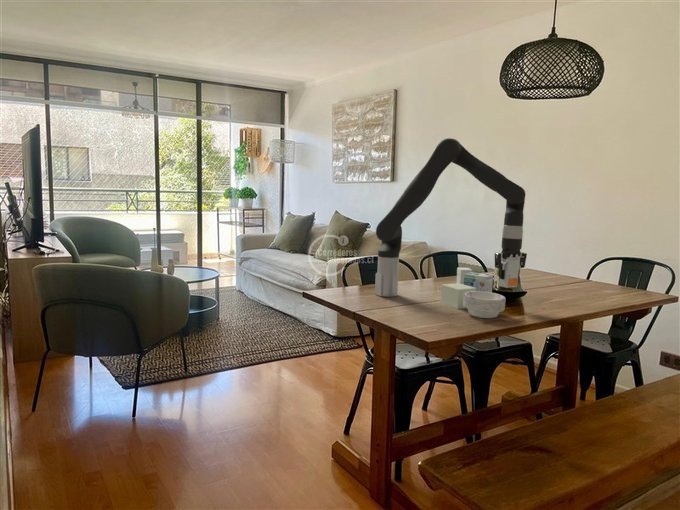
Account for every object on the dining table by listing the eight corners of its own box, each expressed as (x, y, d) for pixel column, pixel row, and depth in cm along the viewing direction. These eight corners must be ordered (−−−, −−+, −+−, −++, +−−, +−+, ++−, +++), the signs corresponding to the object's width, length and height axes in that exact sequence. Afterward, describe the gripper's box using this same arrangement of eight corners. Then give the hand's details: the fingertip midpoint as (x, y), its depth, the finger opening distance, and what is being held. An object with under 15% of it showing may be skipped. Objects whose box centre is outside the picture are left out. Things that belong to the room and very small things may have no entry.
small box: (471, 292, 228) (473, 270, 226) (459, 292, 228) (460, 269, 227) (467, 289, 236) (468, 267, 234) (456, 288, 236) (457, 267, 235)
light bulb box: (462, 297, 217) (463, 273, 215) (469, 295, 222) (471, 271, 220) (484, 301, 210) (486, 276, 208) (492, 299, 215) (493, 274, 213)
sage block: (457, 309, 195) (458, 289, 194) (440, 303, 205) (441, 284, 204) (475, 307, 199) (476, 288, 198) (457, 301, 209) (458, 283, 208)
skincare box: (506, 288, 193) (509, 257, 191) (498, 286, 197) (500, 256, 195) (517, 287, 196) (520, 257, 194) (509, 285, 199) (512, 255, 198)
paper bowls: (512, 320, 180) (513, 298, 179) (474, 321, 177) (475, 299, 176) (491, 310, 195) (492, 290, 194) (455, 311, 192) (456, 291, 190)
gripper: (503, 238, 187) (500, 281, 190) (533, 237, 192) (529, 279, 195) (491, 235, 194) (487, 277, 197) (520, 235, 199) (517, 276, 202)
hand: (508, 278), depth 196 cm, fingers closed on skincare box, 6 cm apart
